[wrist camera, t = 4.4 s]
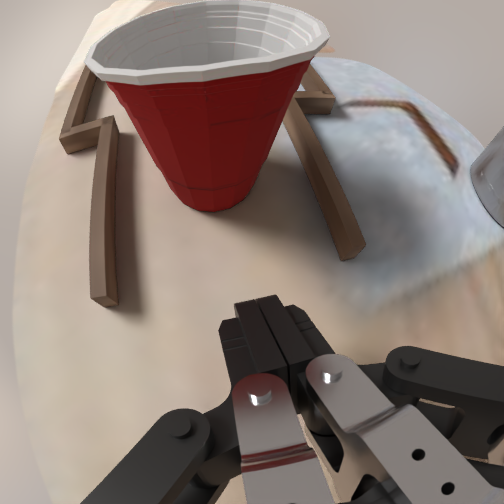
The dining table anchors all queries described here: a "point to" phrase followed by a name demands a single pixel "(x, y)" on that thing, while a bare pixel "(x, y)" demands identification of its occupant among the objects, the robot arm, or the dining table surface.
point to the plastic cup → (209, 88)
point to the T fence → (103, 190)
